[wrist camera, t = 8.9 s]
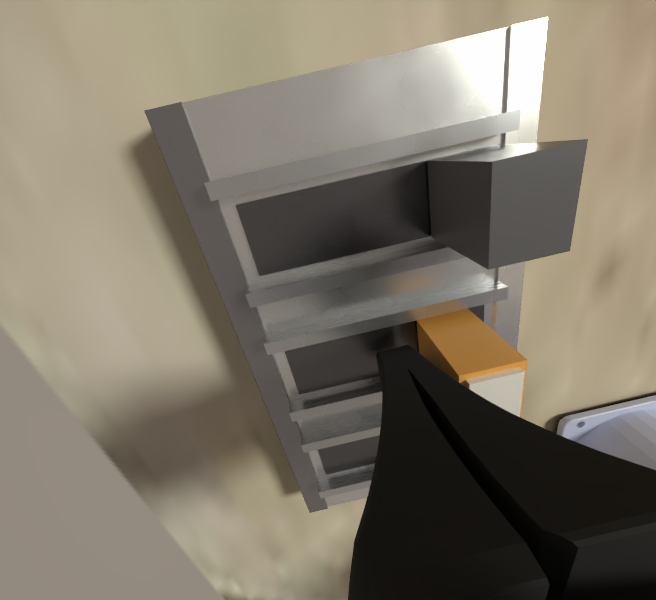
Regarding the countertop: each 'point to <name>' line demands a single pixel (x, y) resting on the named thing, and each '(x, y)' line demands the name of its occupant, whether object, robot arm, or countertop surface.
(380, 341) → the panel
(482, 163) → the breaker
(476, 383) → the block
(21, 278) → the countertop surface
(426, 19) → the countertop surface
